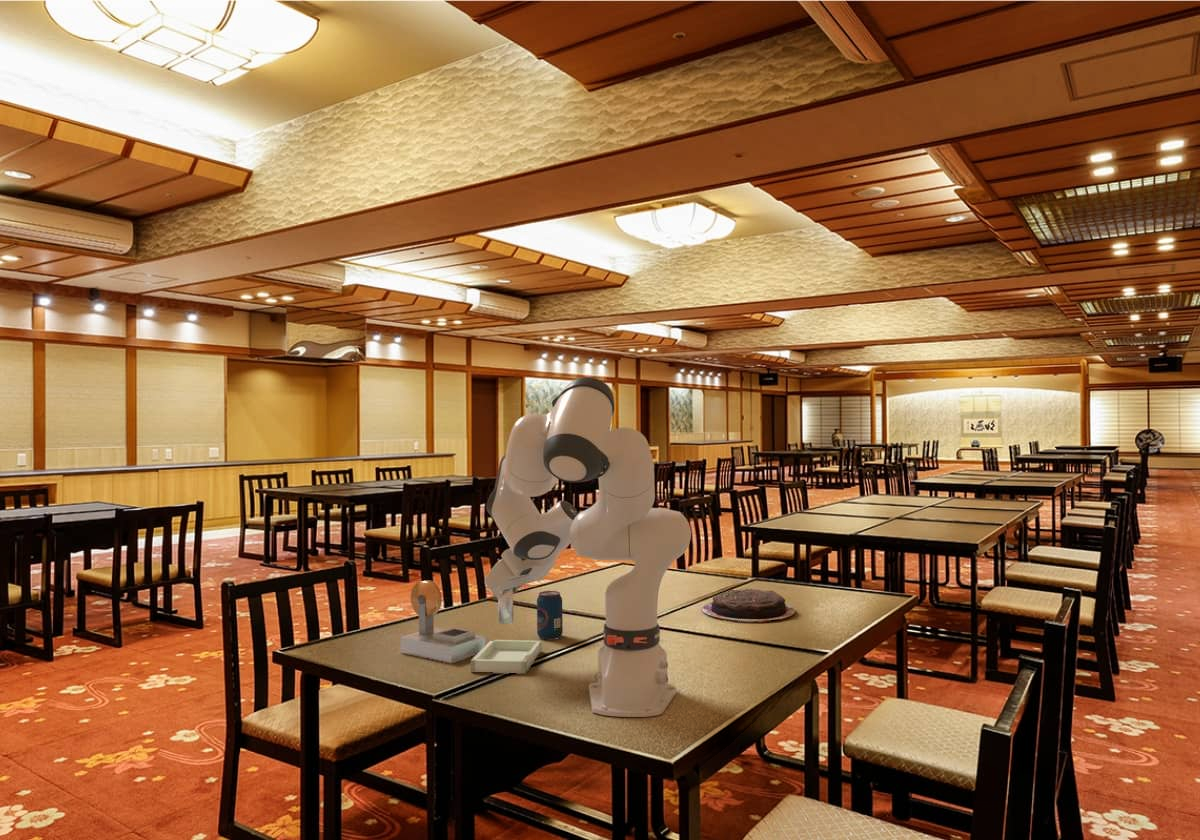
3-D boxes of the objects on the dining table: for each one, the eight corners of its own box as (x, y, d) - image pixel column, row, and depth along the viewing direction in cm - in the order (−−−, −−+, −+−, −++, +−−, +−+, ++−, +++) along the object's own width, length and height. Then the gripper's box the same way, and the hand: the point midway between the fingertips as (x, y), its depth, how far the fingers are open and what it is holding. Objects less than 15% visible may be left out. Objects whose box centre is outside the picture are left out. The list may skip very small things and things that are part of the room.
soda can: (532, 637, 211) (531, 592, 211) (552, 632, 215) (552, 589, 215) (547, 642, 205) (546, 596, 205) (567, 637, 210) (567, 593, 210)
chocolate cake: (699, 623, 225) (699, 600, 225) (703, 602, 252) (703, 582, 252) (798, 626, 220) (798, 602, 220) (792, 604, 247) (791, 583, 247)
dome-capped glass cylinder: (513, 624, 185) (512, 572, 185) (493, 624, 186) (492, 572, 186) (518, 619, 190) (517, 568, 190) (498, 619, 191) (497, 568, 191)
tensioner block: (485, 651, 197) (484, 582, 197) (451, 663, 187) (450, 591, 187) (431, 641, 208) (430, 575, 208) (396, 651, 198) (396, 583, 198)
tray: (525, 673, 178) (525, 661, 178) (470, 672, 180) (470, 660, 180) (541, 651, 196) (541, 640, 196) (491, 650, 198) (491, 639, 198)
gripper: (553, 540, 193) (523, 576, 198) (499, 551, 176) (467, 590, 181) (568, 559, 191) (537, 595, 196) (514, 573, 173) (482, 612, 179)
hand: (503, 593), depth 188 cm, fingers closed on dome-capped glass cylinder, 4 cm apart
